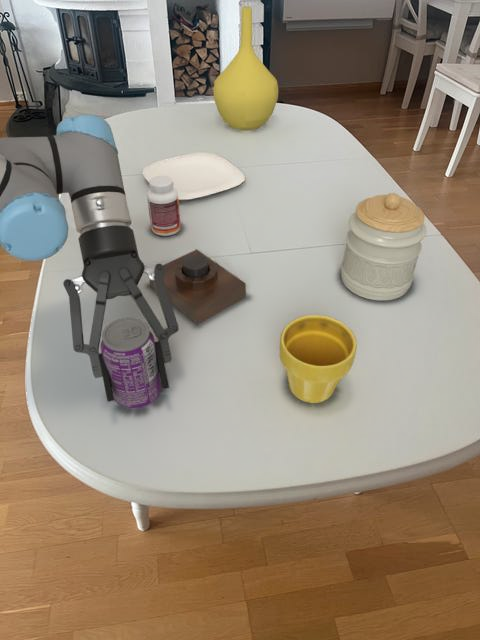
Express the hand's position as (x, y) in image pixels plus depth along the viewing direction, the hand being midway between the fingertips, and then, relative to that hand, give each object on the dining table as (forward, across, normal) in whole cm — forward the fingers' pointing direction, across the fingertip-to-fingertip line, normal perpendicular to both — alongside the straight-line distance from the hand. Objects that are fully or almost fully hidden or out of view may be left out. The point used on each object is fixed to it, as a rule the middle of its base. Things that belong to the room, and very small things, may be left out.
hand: (138, 393), depth 71 cm
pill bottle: (-30, +13, +36) cm, 48 cm away
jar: (-10, +46, +15) cm, 50 cm away
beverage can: (0, 0, +5) cm, 5 cm away
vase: (-65, +46, +71) cm, 107 cm away
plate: (-44, +24, +50) cm, 71 cm away
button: (-18, +14, +16) cm, 28 cm away
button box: (-14, +14, +20) cm, 28 cm away
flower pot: (+5, +25, +1) cm, 25 cm away
